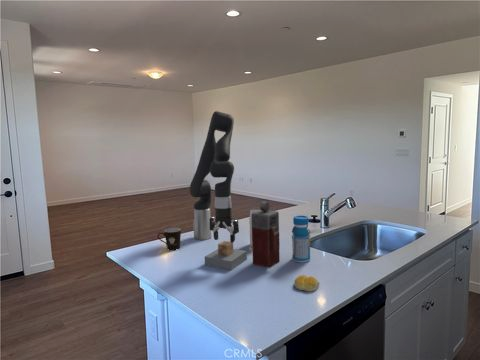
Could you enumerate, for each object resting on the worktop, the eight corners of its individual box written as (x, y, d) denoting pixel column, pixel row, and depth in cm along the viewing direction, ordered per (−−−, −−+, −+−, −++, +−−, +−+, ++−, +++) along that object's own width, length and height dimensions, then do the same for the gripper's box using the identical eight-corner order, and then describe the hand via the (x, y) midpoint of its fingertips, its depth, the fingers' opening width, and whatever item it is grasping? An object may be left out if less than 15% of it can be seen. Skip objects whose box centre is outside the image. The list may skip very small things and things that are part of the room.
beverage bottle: (299, 264, 145) (299, 220, 142) (288, 258, 152) (287, 216, 150) (314, 260, 148) (314, 217, 146) (302, 255, 156) (302, 213, 153)
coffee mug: (185, 246, 174) (184, 228, 173) (175, 252, 166) (174, 233, 165) (167, 244, 179) (166, 226, 178) (157, 249, 171) (156, 230, 170)
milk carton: (263, 247, 168) (262, 211, 165) (250, 247, 169) (249, 211, 167) (265, 243, 175) (264, 208, 172) (252, 243, 176) (251, 208, 174)
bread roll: (299, 280, 129) (299, 270, 129) (321, 285, 124) (321, 275, 124) (290, 288, 122) (290, 278, 122) (313, 294, 117) (313, 283, 117)
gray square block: (204, 265, 148) (204, 256, 147) (221, 255, 160) (221, 247, 159) (231, 270, 141) (231, 261, 140) (246, 259, 153) (246, 251, 152)
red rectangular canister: (274, 269, 141) (272, 205, 137) (252, 263, 147) (250, 202, 144) (284, 262, 148) (283, 201, 144) (263, 257, 154) (261, 199, 151)
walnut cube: (218, 254, 149) (217, 244, 148) (224, 251, 153) (223, 241, 152) (227, 256, 146) (227, 245, 146) (233, 252, 151) (233, 242, 150)
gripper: (205, 206, 147) (206, 241, 149) (232, 209, 140) (233, 245, 142) (214, 203, 153) (215, 236, 156) (241, 205, 146) (242, 240, 149)
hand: (224, 240), depth 149 cm, fingers open, 8 cm apart
